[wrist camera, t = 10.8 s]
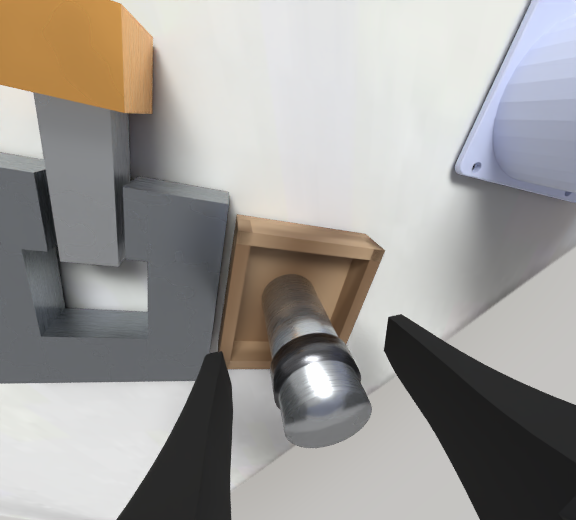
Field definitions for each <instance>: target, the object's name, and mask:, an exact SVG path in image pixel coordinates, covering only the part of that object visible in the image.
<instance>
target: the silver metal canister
mask: <svg viewBox="0 0 576 520" xmlns="http://www.w3.org/2000/svg"><path fill="white" fill-rule="evenodd" d="M262 306H263V312H264V317H265V323H266V329H267V334H268V340H269V346H270V352H271V357H272V361H271V364H270V374H271V380H272V386H273V392H274V399H275V403H276V405H277V407H278V408H279V409H280V410H281V415H282V420H283V426H284V432H285V436H286V438H287V439H288V440H289V441H290V442H291V443H293V444H294V445H297V446H300V447H305V448H319V447H325V446H330V445H333V444H336V443H339V442H341V441H343V440H345V439H347V438H349V437H351V436H352V435H354V434H355V433H357V432H358V431H359V430H360V429H361V428H362V427H363V426H364V425H365V424H366V423H367V421H368V419H369V418H370V415H371V411H372V407H371V403H370V401H369V399H368V397H367V395H366V393H365V391H364V389H363V387H362V385H361V383H360V381H361V375H360V372H359V369H358V367H357V365H356V363H355V361H354V359H353V358H352V356H351V354H350V352H349V350H348V348H347V346H346V344H345V343H344V342H343V341H342V340H341V339H340V338H339V337H338V336H337V334H336V332H335V330H334V328H333V326H332V324H331V321H330V319H329V317H328V315H327V313H326V311H325V309H324V307H323V305H322V303H321V301H320V299H319V297H318V295H317V293H316V291H315V289H314V287H313V285H312V283H311V282H310V281H309V280H308V279H307V278H305V277H303V276H301V275H297V274H287V275H282V276H279V277H277V278H275V279H274V280H272V281H271V282H270V283H269V284H268V285H267V286H266V287H265V289H264V291H263V294H262Z"/></svg>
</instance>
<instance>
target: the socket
mask: <svg viewBox="0 0 576 520" xmlns="http://www.w3.org/2000/svg"><path fill="white" fill-rule="evenodd" d="M123 205H124V230H125V254H126V259H128V260H138V261H148V312H137V311H117V310H97V309H76V308H65V304H64V298H63V292H62V286H61V279H60V273H59V267H58V261H57V255H56V249H55V246H56V245H57V238H56V231H55V225H54V219H53V213H52V206H51V200H50V194H49V187H48V181H47V175H46V168H45V162H44V160H43V159H37V158H31V157H25V156H20V155H14V154H8V153H2V152H0V383H71V382H141V381H196V379H197V376H198V374H199V371H200V368H201V366H202V363H203V360H204V357H205V356H206V355H207V354H209V353H210V346H211V338H212V330H213V323H214V315H215V307H216V300H217V292H218V284H219V277H220V269H221V261H222V254H223V246H224V238H225V231H226V223H227V215H228V208H229V192H227V191H221V190H215V189H210V188H204V187H198V186H192V185H187V184H181V183H175V182H169V181H164V180H158V179H152V178H146V177H141V176H138V177H137V178H136V179H134V180H133V181H131V182H130V183H128V184H127V185H125V186H124V187H123Z"/></svg>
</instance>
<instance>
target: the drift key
mask: <svg viewBox="0 0 576 520" xmlns="http://www.w3.org/2000/svg"><path fill="white" fill-rule="evenodd" d="M152 76H153V37H152V36H151V35H150V34H149V33H148V32H147V31H146V30H145V29H144V27H143V26H142V25H141V24H140V23H139V22H138V21H137V20H136V19H135V18H134V17H133V16H132V15H131V14H130V13H129V12H128V11H127V10H126V9H125V7H124V6H123V5H122V4H120V3H117V2H114V1H111V0H0V85H4V86H9V87H13V88H17V89H22V90H26V91H31V92H34V99H35V105H36V111H37V118H38V124H39V130H40V137H41V143H42V149H43V156H44V162H45V168H46V175H47V181H48V187H49V194H50V200H51V206H52V213H53V219H54V225H55V231H56V238H57V244H58V250H59V257H60V262H71V263H82V264H94V265H105V266H116V267H119V266H120V264H121V263H122V261H123V260H124V259H125V257H126V254H125V230H124V205H123V187H124V186H125V185H127V184H128V183H130V153H129V118H128V113H141V114H152Z"/></svg>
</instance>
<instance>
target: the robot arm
mask: <svg viewBox="0 0 576 520" xmlns="http://www.w3.org/2000/svg"><path fill="white" fill-rule="evenodd" d="M474 164H475V167H474V169H473V170H472V167H473V165H474ZM455 171H456V173H458V174H460V175H464V176H468V177H472V178H476V179H480V180H484V181H488V182H492V183H496V184H500V185H504V186H509V187H513V188H517V189H521V190H525V191H529V192H533V193H537V194H541V195H545V196H549V197H553V198H557V199H561V200H565V201H569V202H573V203H576V0H532V1H531V4H530V6H529V8H528V10H527V12H526V14H525V16H524V19H523V21H522V23H521V25H520V27H519V29H518V31H517V34H516V36H515V38H514V40H513V42H512V44H511V46H510V49H509V51H508V53H507V55H506V57H505V59H504V61H503V64H502V66H501V68H500V70H499V72H498V74H497V76H496V78H495V81H494V83H493V85H492V87H491V89H490V91H489V93H488V96H487V98H486V100H485V102H484V104H483V106H482V108H481V111H480V113H479V115H478V117H477V119H476V121H475V123H474V126H473V128H472V130H471V132H470V134H469V136H468V138H467V141H466V143H465V145H464V147H463V149H462V151H461V153H460V155H459V158H458V160H457V162H456V165H455ZM384 351H385V353H386V355H387V357H388V360H389V362H390V364H391V365H392V367H393V369H394V371H395V373H396V374H397V376H398V378H399V379H400V380H401V382H402V383H403V385H404V387H405V388H406V390H407V391H408V393H409V394H410V396H411V397H412V399H413V400H414V402H415V403H416V405H417V406H418V408H419V409H420V410H421V412H422V413H423V415H424V416H425V418H426V419H427V421H428V422H429V424H430V426H431V427H432V429H433V431H434V432H435V434H436V436H437V437H438V439H439V441H440V443H441V445H442V447H443V448H444V450H445V452H446V454H447V456H448V458H449V459H450V461H451V463H452V465H453V467H454V469H455V471H456V472H457V475H458V477H459V478H460V480H461V482H462V484H463V486H464V488H465V490H466V492H467V494H468V496H469V498H470V500H471V502H472V504H473V506H474V508H475V510H476V512H477V515H478V516H479V519H480V520H576V405H574V404H571V403H569V402H566V401H564V400H561V399H559V398H556V397H553V396H551V395H549V394H546V393H544V392H542V391H539V390H537V389H535V388H532V387H530V386H528V385H526V384H523V383H521V382H519V381H517V380H514V379H512V378H510V377H508V376H506V375H504V374H502V373H500V372H498V371H496V370H494V369H492V368H490V367H488V366H486V365H484V364H483V363H481V362H479V361H477V360H475V359H473V358H472V357H470V356H468V355H466V354H465V353H463V352H461V351H459V350H458V349H456V348H454V347H453V346H451V345H449V344H448V343H446V342H444V341H443V340H441V339H440V338H438V337H436V336H435V335H433V334H432V333H430V332H428V331H427V330H425V329H424V328H422V327H421V326H419V325H418V324H416V323H414V322H413V321H411V320H410V319H408V318H407V317H405V316H403V315H402V314H401V315H396V316H391V317H388V324H387V332H386V339H385V347H384ZM232 421H233V402H232V386H231V381H230V377H229V374H228V370H227V367H226V363H225V359H224V356H223V352H222V351H220V352H215V353H210V354H207V355H206V356H205V357H204V360H203V363H202V366H201V368H200V371H199V374H198V376H197V379H196V381H195V384H194V386H193V388H192V391H191V393H190V395H189V397H188V399H187V402H186V404H185V406H184V408H183V410H182V412H181V414H180V416H179V418H178V420H177V422H176V424H175V426H174V428H173V430H172V432H171V434H170V436H169V437H168V439H167V441H166V443H165V445H164V446H163V448H162V450H161V452H160V453H159V455H158V457H157V458H156V460H155V462H154V464H153V465H152V467H151V468H150V470H149V472H148V473H147V475H146V476H145V478H144V480H143V481H142V483H141V484H140V486H139V487H138V489H137V490H136V492H135V494H134V495H133V497H132V498H131V500H130V501H129V503H128V504H127V505H126V507H125V508H124V510H123V511H122V513H121V514H120V515H119V517H118V518H117V520H231V504H230V503H231V502H230V467H231V445H232Z"/></svg>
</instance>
